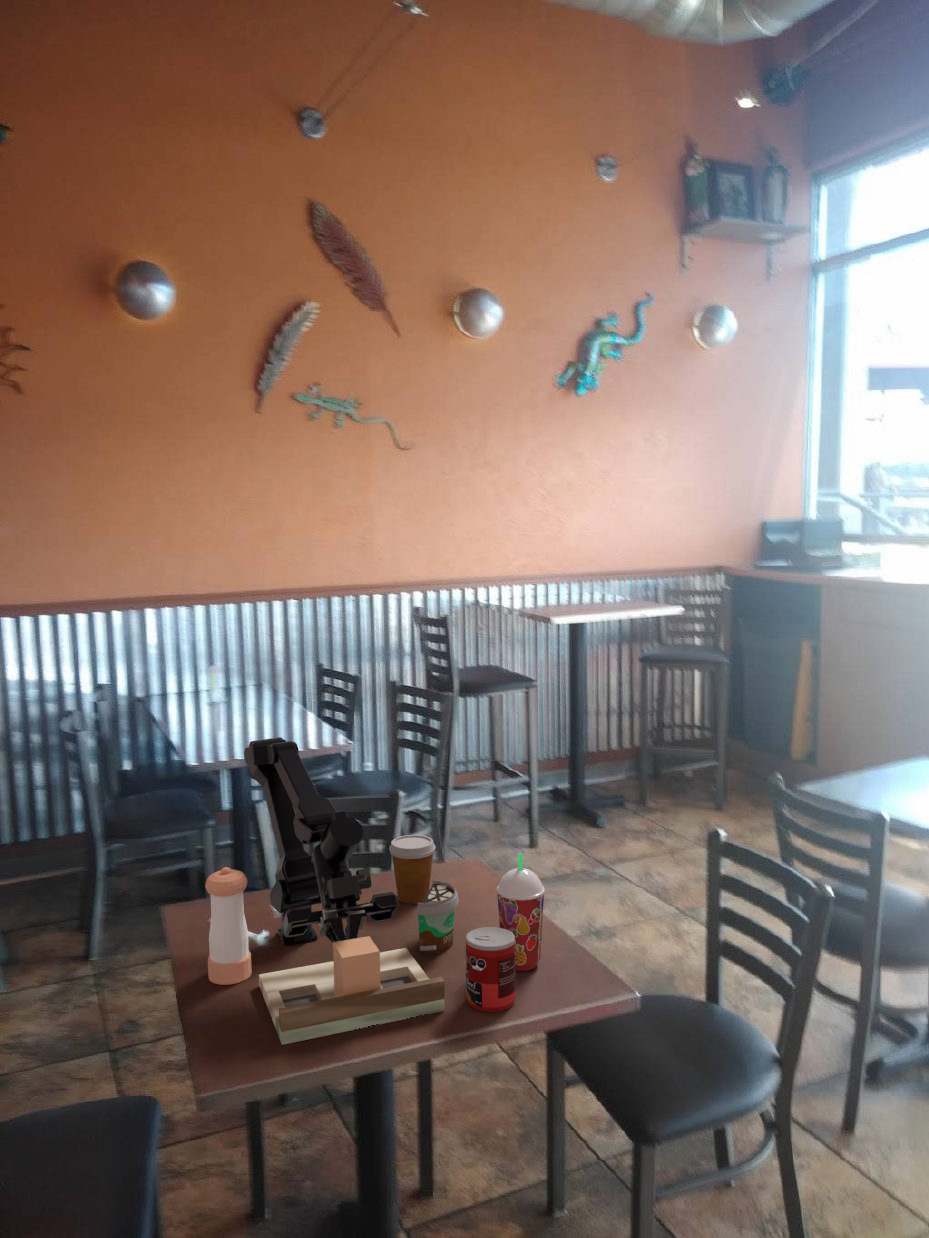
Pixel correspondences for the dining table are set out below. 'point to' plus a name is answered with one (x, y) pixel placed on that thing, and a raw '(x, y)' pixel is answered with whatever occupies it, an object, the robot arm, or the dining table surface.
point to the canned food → (490, 969)
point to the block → (356, 966)
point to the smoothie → (522, 913)
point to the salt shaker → (228, 928)
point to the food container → (437, 918)
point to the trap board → (348, 998)
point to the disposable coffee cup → (412, 866)
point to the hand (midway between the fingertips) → (351, 963)
